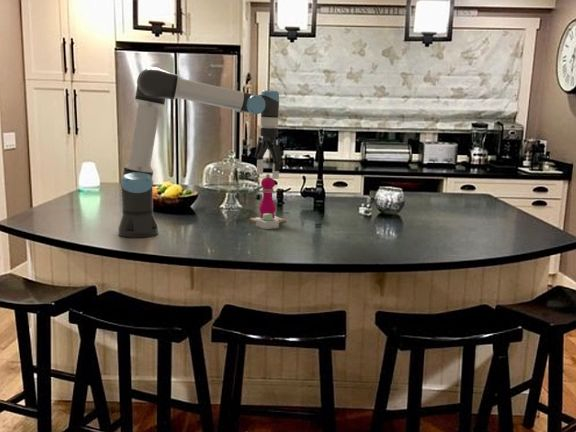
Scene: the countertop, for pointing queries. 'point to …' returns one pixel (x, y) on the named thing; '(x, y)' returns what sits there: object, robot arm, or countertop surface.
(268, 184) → the pepper mill
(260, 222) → the button base
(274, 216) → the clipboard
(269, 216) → the button
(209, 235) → the countertop surface
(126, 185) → the robot arm
